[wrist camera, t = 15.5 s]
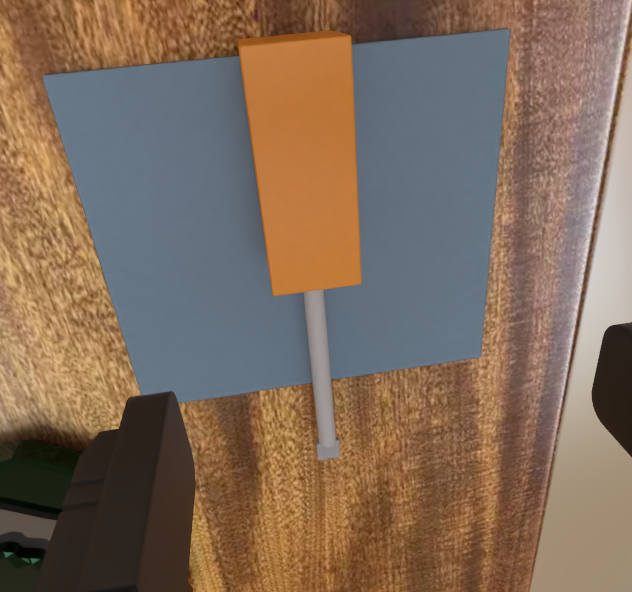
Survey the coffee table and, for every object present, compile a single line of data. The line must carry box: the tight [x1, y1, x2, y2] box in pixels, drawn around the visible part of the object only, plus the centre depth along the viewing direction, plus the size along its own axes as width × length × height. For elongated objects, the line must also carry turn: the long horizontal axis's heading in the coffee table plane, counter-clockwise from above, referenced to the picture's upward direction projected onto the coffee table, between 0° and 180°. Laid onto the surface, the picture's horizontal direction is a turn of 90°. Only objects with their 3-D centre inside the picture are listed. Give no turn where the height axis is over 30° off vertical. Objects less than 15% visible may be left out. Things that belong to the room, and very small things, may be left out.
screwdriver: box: [237, 30, 362, 460], centre depth 23 cm, size 4×20×4 cm, turn 5°
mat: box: [42, 29, 510, 403], centre depth 24 cm, size 18×16×1 cm
